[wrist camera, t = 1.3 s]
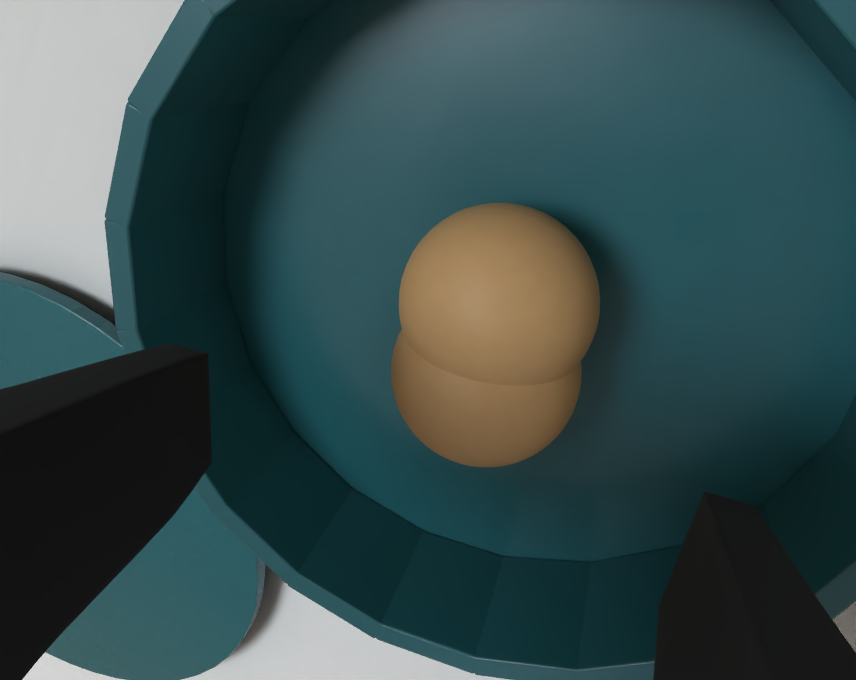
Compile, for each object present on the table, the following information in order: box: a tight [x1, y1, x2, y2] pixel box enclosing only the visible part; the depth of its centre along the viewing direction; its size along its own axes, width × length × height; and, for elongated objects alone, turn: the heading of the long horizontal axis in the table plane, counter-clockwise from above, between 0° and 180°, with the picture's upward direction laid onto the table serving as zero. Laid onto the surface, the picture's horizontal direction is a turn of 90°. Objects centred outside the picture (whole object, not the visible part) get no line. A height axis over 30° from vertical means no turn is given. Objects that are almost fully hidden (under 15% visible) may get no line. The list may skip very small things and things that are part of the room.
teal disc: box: [0, 272, 265, 680], centre depth 22 cm, size 17×17×5 cm
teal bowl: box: [105, 0, 856, 680], centre depth 14 cm, size 16×16×4 cm
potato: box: [391, 203, 600, 467], centre depth 14 cm, size 6×4×4 cm
